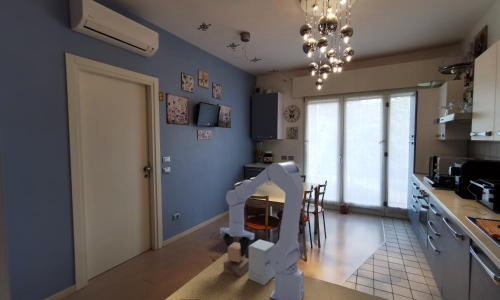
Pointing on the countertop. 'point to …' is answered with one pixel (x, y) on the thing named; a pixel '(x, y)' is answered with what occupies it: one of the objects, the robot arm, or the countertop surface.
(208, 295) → the countertop surface
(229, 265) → the walnut slab
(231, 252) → the terracotta cube
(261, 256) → the supplement box
